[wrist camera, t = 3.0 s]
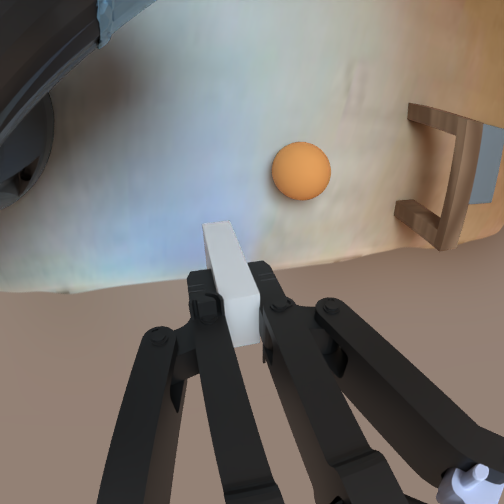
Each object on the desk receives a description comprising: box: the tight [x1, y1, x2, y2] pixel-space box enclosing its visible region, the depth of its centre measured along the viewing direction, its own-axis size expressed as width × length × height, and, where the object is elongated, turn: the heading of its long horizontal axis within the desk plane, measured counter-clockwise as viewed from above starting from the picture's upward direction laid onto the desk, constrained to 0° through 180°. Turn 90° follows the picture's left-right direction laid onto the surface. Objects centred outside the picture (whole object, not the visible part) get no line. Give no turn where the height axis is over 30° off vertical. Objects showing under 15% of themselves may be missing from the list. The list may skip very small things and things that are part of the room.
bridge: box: [394, 103, 484, 251], centre depth 30 cm, size 3×14×9 cm, turn 1°
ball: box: [272, 142, 331, 200], centre depth 29 cm, size 6×6×6 cm
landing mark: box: [469, 124, 504, 204], centre depth 37 cm, size 13×13×1 cm
